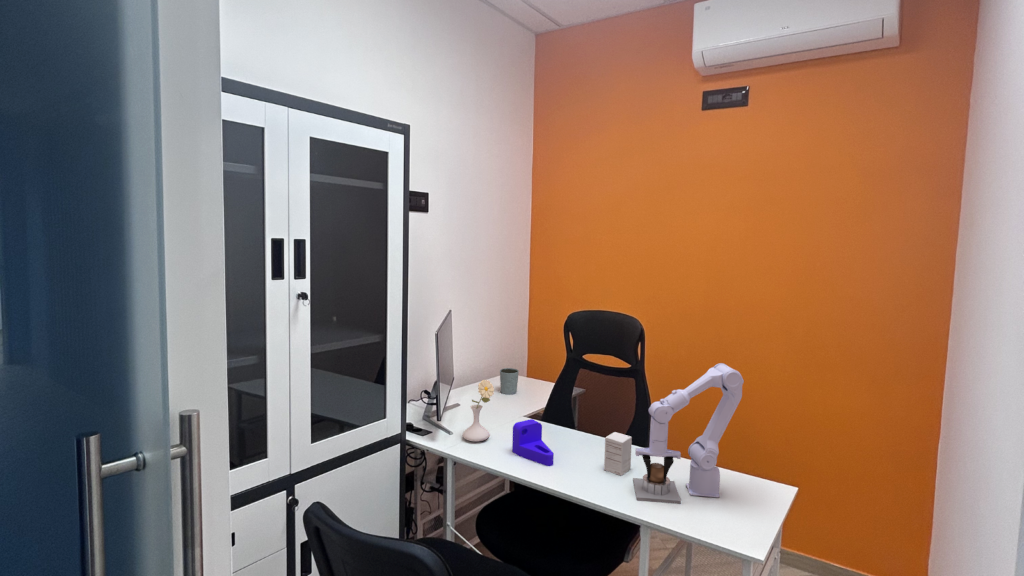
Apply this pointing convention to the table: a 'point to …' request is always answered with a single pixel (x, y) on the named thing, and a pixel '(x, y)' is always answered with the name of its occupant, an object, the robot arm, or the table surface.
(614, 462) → the supplement box
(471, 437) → the flower in vase
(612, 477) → the table surface
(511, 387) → the green cylindrical pot
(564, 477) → the table surface
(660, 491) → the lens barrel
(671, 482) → the mount plate
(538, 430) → the bracket
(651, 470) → the walnut cap
